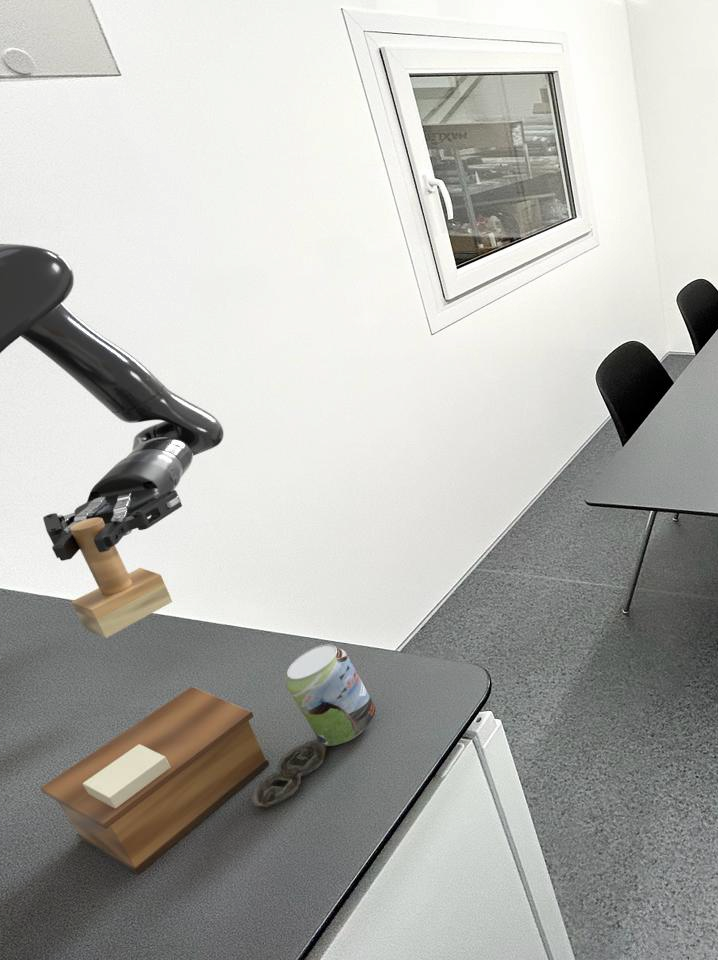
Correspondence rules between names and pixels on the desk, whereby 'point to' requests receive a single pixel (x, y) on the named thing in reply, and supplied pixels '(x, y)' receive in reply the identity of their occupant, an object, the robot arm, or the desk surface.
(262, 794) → the corroded twin loop
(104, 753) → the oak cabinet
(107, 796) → the cream soap bar
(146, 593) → the wooden stamp
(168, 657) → the desk surface
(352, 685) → the beverage can
